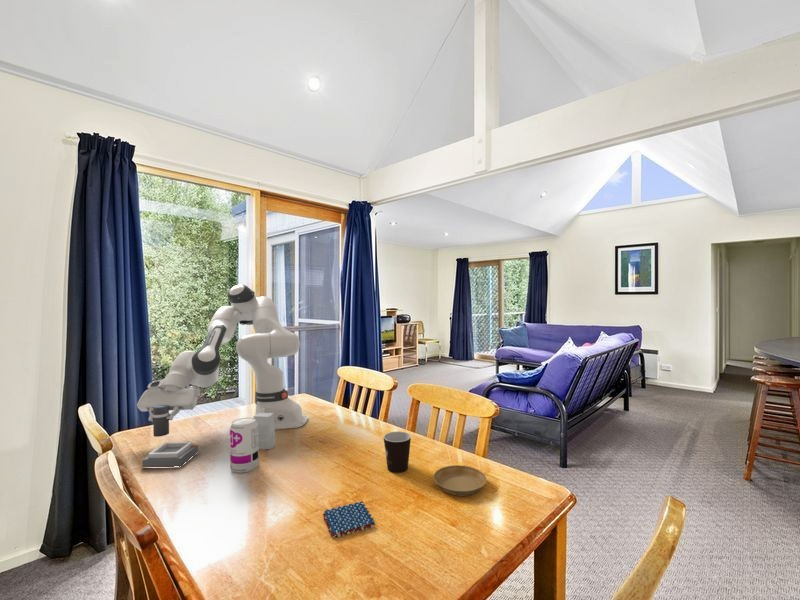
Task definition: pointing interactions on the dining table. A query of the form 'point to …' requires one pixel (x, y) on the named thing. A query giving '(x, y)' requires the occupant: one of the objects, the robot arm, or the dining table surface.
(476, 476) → the plant saucer
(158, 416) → the lens
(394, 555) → the dining table surface
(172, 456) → the dock
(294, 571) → the dining table surface
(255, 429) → the supplement can
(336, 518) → the woven mat
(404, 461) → the coffee mug
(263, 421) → the skincare box
